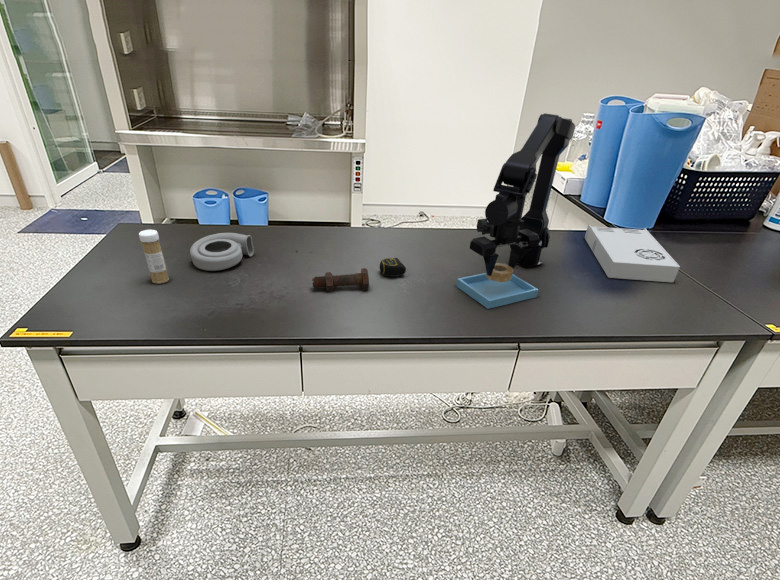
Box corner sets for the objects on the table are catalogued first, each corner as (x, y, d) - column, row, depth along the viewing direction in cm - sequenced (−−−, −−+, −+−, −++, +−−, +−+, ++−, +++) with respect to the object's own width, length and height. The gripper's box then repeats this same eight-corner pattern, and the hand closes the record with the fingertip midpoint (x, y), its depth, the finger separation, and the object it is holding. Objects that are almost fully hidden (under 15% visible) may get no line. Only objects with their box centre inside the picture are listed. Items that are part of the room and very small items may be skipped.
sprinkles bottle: (169, 276, 138) (157, 228, 130) (169, 283, 135) (157, 234, 127) (151, 278, 137) (138, 229, 129) (151, 285, 134) (138, 236, 125)
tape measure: (406, 277, 143) (407, 265, 141) (383, 280, 141) (384, 267, 139) (398, 268, 148) (399, 255, 146) (376, 270, 146) (376, 257, 144)
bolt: (313, 294, 137) (367, 290, 138) (313, 293, 132) (369, 289, 133) (311, 272, 136) (366, 269, 137) (311, 270, 131) (367, 266, 132)
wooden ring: (500, 269, 139) (501, 261, 137) (516, 279, 134) (518, 271, 132) (480, 273, 136) (481, 265, 135) (496, 284, 131) (498, 275, 130)
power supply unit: (639, 241, 172) (644, 227, 169) (673, 282, 146) (680, 266, 143) (584, 238, 173) (588, 223, 170) (608, 278, 147) (613, 262, 144)
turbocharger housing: (182, 270, 144) (226, 280, 140) (176, 249, 140) (221, 258, 136) (217, 246, 156) (258, 254, 152) (213, 226, 152) (255, 234, 147)
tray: (503, 276, 146) (504, 268, 144) (536, 297, 136) (538, 289, 134) (456, 286, 140) (457, 278, 138) (487, 309, 130) (489, 301, 128)
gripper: (518, 201, 134) (507, 256, 143) (461, 209, 127) (454, 267, 136) (547, 213, 126) (533, 271, 136) (488, 223, 119) (478, 283, 129)
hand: (499, 273), depth 134 cm, fingers closed on wooden ring, 7 cm apart
